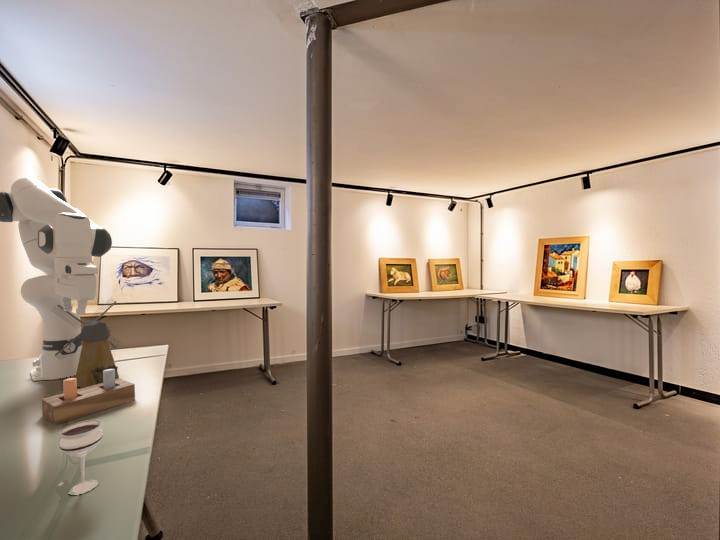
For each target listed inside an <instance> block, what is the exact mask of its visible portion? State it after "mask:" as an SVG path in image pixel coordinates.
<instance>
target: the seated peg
mask: <svg viewBox="0 0 720 540" xmlns="http://www.w3.org/2000/svg"><path fill="white" fill-rule="evenodd" d="M103 385H104V390H105V389H109V388H112V387H115V369H107V370H104V371H103Z"/></svg>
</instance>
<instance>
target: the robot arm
mask: <svg viewBox="0 0 720 540" xmlns="http://www.w3.org/2000/svg"><path fill="white" fill-rule="evenodd" d="M0 222H1V223H13V222H18V224H17V225H18V226H17V227H18V233H19V238H20V240H21V243H22V246H23V249H24V251H25V253H26V256H27V258H28V261H29V263H30V265H31V266H32V267H33V268H35V269H38V270H40V271H41V272H43V273H44V274H46V275H38V276H35V277H32V278H28V279H26V280H25V281H24V282H23V283H22V285H21V287H20V295H21V298H22V299H23V301H24V302H26V303H27V304H28V305H31V306H33V307H34V308H35V310H36V311H37V312H38V313H39V315H40V317H41V321H42V326H43V337H44V339H43V341H42V345H41V346H42V351H41V352H40V354H39V356H38V357H37V358H36V360H35V359H34V360H32V367H34V368H33V369H30V371H29V373H30V377H31V379H32V381H33V382H37V381H47V380H48V381H49V380H50V381H51V380H59V379H60V378H61V379H65V378H66V377H67V378H71V377H75V376H76V372H77V368H78V363H79V358H80V354H81V349H82V345H83V342H82V341H80V336H79V337H78V338H77V339H76V340H75V341H77V340H78V341H77V342H75V341H74V342H72V343H71V344H70V346H71V347H70V346H68V347H66V349H64V350H63V351H62V352H61V353H59V354H58V355H57V356H55V354H56V353H57V352H59V351H60V350H61V349H62V348H63V347H65V346H66V345H67V344H68V343H69V342H70V341H72V340H73V339H74V338H75V337H76V336H78V335H79V334H80V333H81V330H82V324H81V323H80V322H79V321H77V320H76V319H74V318H73V317H72V316H70V315H69V314H67V313H66V312H65V311H68V312H70V313H71V314H73V315H74V316H75V317H77V318H78V319H79V320H81V317H80V316H81V315H82V316H84V315H86V308H87V306H88V301H94V300H95V297H96V294H97V275H98V274H99V268H98V266H97V265H96V264H95V263H94V262H93V257H98V258H100V257H102V256H104V255H106V254H107V253H108V252H109V251H110V250H111V248H112V247H113V246H112V245H113V239H112V236H111V234H110V233H109V231H107V229H106V228H104V227H103V226H100V225H98V224H96V223H95V222H94V221H92V219H90V218H89V217H88V216H87V215H86V214H85V213H83V212H82V211H81V210H79V208H77V207H74V206H73V205H70V204H69V202H68V199H67V197H66V196H65V194H64V193H63V192H62V191H61V190H60V189H57V188H49V187H48V186H47V185H45V184H44V183H43V182H41V181H40V180H38V179H35V178H33V177H21V178H18V179H16V180H14V182H12V184H11V187H10V191H6V192H5V191H1V192H0ZM75 301H76V303H77V305H76V306H77V308H75V312H74V311H73V304H72V302H75ZM57 305H60V306H62V307H63V308H64V311H63V310H62V309H61V308H59V307H58V306H57ZM55 307H56V308H55ZM53 308H54V309H53ZM52 309H53V310H52ZM51 310H52V311H51ZM54 310H56V311H57V312H56V311H54ZM59 310H60V311H59ZM53 311H54V312H56V313H54V312H53ZM58 312H59V313H58ZM62 312H63V313H62ZM57 313H58V314H57ZM58 315H59V316H58ZM62 315H63V316H62ZM66 315H67V316H66ZM60 316H61V317H62V318H61V317H60ZM65 317H66V318H65ZM69 317H70V318H69ZM64 319H65V320H66V321H65V320H64ZM69 320H70V321H71V322H70V321H69ZM73 320H74V322H73ZM67 321H68V322H70V323H68V322H67ZM76 321H77V323H78V322H79V323H78V324H77V323H75V322H76ZM81 321H82V320H81ZM72 322H73V323H72ZM71 323H72V325H71ZM74 323H75V324H74ZM73 324H74V325H73ZM76 325H77V326H76ZM80 325H81V326H80ZM75 327H76V328H75ZM79 341H80V342H81V343H80V342H79ZM74 343H75V344H74ZM73 346H75V347H76V346H77V347H76V348H75V347H73ZM72 347H73V348H72ZM69 348H70V349H71V350H70V349H69ZM64 351H66V352H67V353H66V352H64ZM69 351H70V353H69ZM63 352H64V353H63ZM65 353H66V355H65ZM68 353H69V354H68ZM61 354H62V355H61ZM57 357H58V358H60V357H62V358H63V359H62V358H60V359H58V358H57ZM61 359H62V360H61ZM35 367H36V368H35ZM74 375H75V376H74ZM70 376H71V377H70ZM67 378H66V379H67Z"/></svg>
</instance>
